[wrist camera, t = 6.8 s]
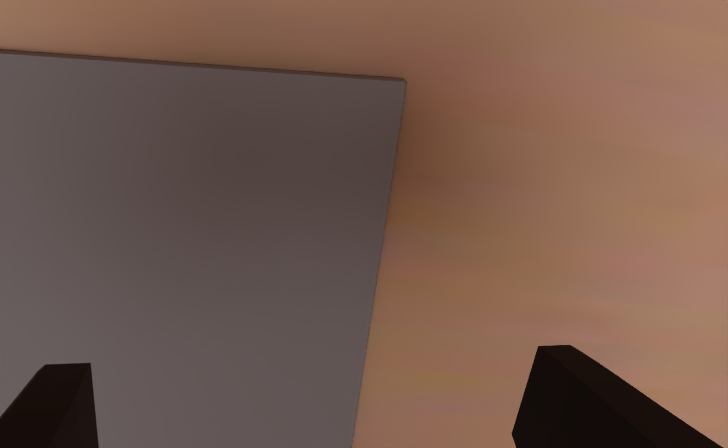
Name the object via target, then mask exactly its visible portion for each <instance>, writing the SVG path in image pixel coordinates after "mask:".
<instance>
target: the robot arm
mask: <svg viewBox="0 0 728 448" xmlns="http://www.w3.org/2000/svg"><path fill="white" fill-rule="evenodd" d="M512 436H513V439H514V442H515V445H516V448H723V447H721V446H720V445H718V444H717V443H715V442H714V441H712V440H711V439H709V438H708V437H706V436H705V435H703V434H701V433H700V432H698V431H697V430H695V429H694V428H692V427H691V426H689V425H688V424H686V423H685V422H684V421H682V420H681V419H679V418H678V417H676V416H675V415H673V414H672V413H670V412H669V411H667V410H666V409H664V408H663V407H662V406H660V405H659V404H657V403H656V402H654V401H653V400H651V399H650V398H649V397H647V396H646V395H644V394H643V393H641V392H640V391H639V390H637V389H636V388H634V387H633V386H631V385H630V384H628V383H627V382H626V381H624V380H623V379H621V378H620V377H618V376H617V375H615V374H614V373H613V372H611V371H610V370H608V369H607V368H605V367H604V366H602V365H601V364H599V363H598V362H596V361H595V360H593V359H592V358H590V357H589V356H587V355H586V354H584V353H583V352H581V351H579V350H578V349H576V348H574V347H573V346H571V345H555V346H538V349H537V352H536V355H535V359H534V362H533V365H532V369H531V372H530V375H529V379H528V382H527V385H526V388H525V392H524V395H523V398H522V402H521V405H520V408H519V412H518V415H517V418H516V421H515V425H514V428H513V431H512ZM0 448H99V444H98V433H97V423H96V412H95V402H94V391H93V381H92V370H91V363H70V364H45V365H44V366H43V367H42V368H41V369H39V370H38V371H37V372H36V374H35V375H34V376H33V377H32V379H31V380H30V381H29V382H28V384H27V385H26V386H25V387H24V388H23V390H22V391H21V392H20V393H19V395H18V396H17V397H16V398H15V399H14V401H13V402H12V403H11V404H10V406H9V407H8V408H7V409H6V410H5V412H4V413H3V414H2V415H1V416H0Z"/></svg>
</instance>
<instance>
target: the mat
mask: <svg viewBox="0 0 728 448" xmlns="http://www.w3.org/2000/svg"><path fill="white" fill-rule="evenodd" d="M406 84H407V82H406V81H405V80H404V79H403V78H389V77H375V76H361V75H347V74H333V73H319V72H305V71H291V70H277V69H263V68H249V67H235V66H221V65H207V64H193V63H179V62H165V61H151V60H137V59H123V58H109V57H95V56H81V55H67V54H53V53H39V52H25V51H11V50H0V416H1V415H2V414H3V413H4V412H5V410H6V409H7V408H8V407H9V406H10V404H11V403H12V402H13V401H14V399H15V398H16V397H17V396H18V395H19V393H20V392H21V391H22V390H23V388H24V387H25V386H26V385H27V384H28V382H29V381H30V380H31V379H32V377H33V376H34V375H35V374H36V372H37V371H38V370H39V369H41V368H42V367H43V366H44V365H45V364H70V363H91V370H92V381H93V391H94V402H95V412H96V423H97V433H98V444H99V448H352V442H353V435H354V428H355V422H356V415H357V409H358V402H359V395H360V389H361V382H362V375H363V369H364V362H365V356H366V349H367V342H368V336H369V329H370V323H371V316H372V309H373V303H374V296H375V289H376V283H377V276H378V270H379V263H380V256H381V250H382V243H383V236H384V230H385V223H386V217H387V210H388V203H389V197H390V190H391V184H392V177H393V170H394V164H395V157H396V150H397V144H398V137H399V131H400V124H401V117H402V111H403V104H404V97H405V91H406Z"/></svg>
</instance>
